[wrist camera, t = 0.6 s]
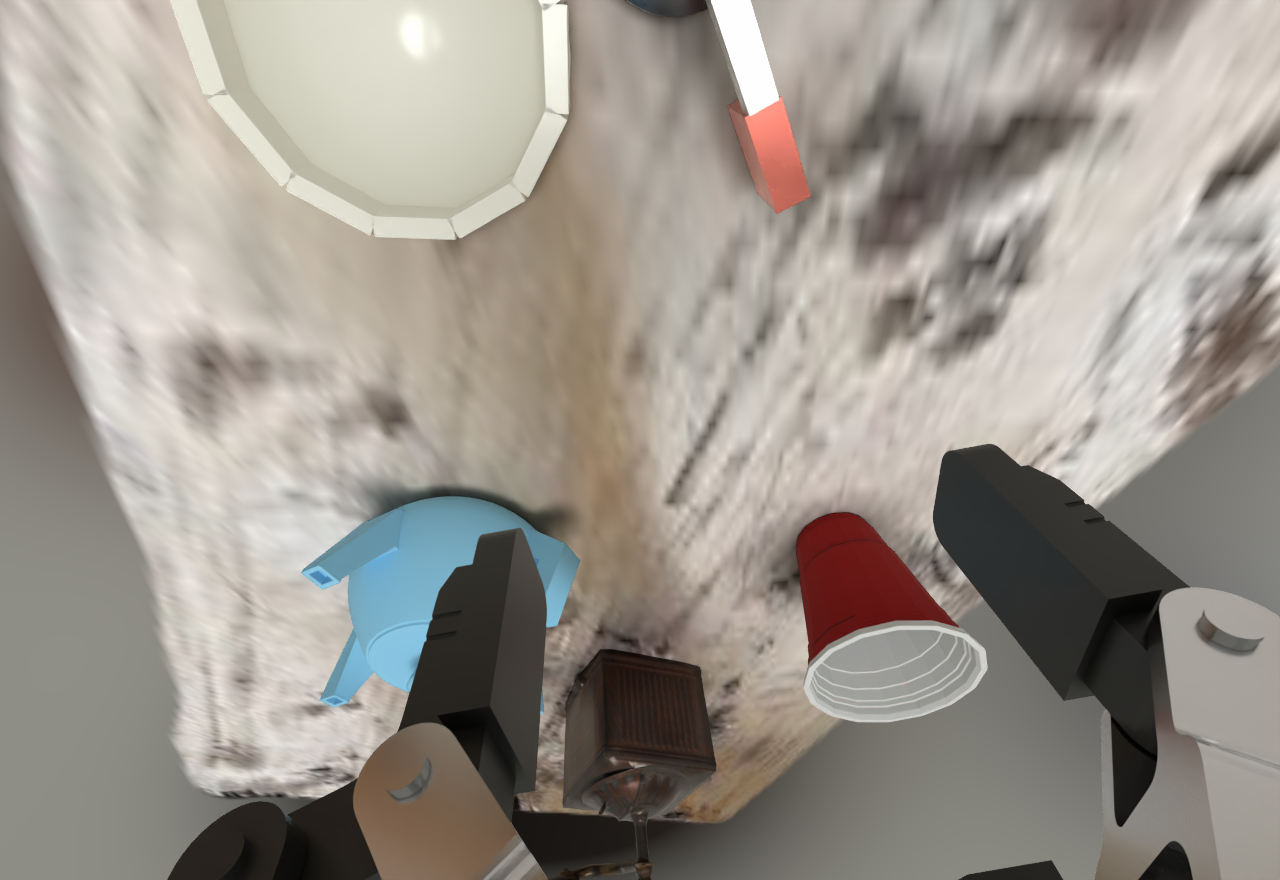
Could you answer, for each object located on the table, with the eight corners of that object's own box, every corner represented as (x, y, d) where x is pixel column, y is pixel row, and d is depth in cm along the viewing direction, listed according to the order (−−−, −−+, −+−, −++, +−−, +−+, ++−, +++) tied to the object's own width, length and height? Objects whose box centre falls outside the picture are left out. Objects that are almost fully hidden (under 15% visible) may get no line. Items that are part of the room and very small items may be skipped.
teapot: (548, 623, 48) (538, 756, 39) (359, 605, 44) (305, 746, 36) (584, 494, 39) (583, 629, 30) (353, 460, 36) (279, 600, 27)
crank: (674, -44, 21) (688, -54, 18) (711, -68, 21) (731, -82, 18) (757, 193, 26) (778, 214, 23) (787, 177, 26) (812, 197, 23)
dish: (118, -55, 21) (65, -63, 18) (422, -321, 17) (399, -366, 15) (386, 272, 28) (370, 292, 26) (628, 129, 25) (631, 140, 23)
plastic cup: (787, 479, 39) (850, 627, 30) (925, 492, 41) (1026, 637, 31) (743, 578, 46) (783, 727, 36) (864, 586, 47) (932, 730, 38)
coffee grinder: (594, 645, 50) (595, 897, 36) (703, 665, 53) (743, 903, 39) (541, 726, 58) (524, 957, 44) (637, 739, 61) (651, 958, 47)
